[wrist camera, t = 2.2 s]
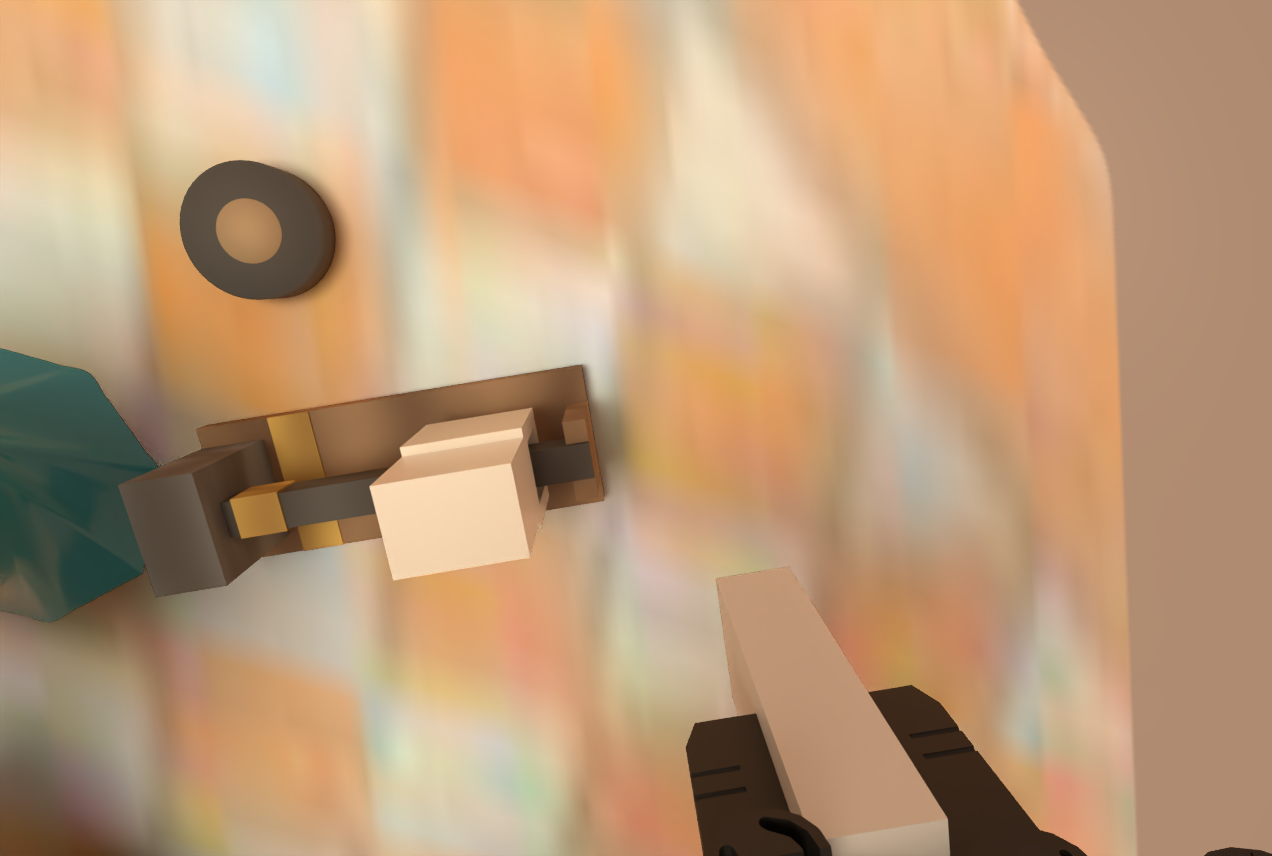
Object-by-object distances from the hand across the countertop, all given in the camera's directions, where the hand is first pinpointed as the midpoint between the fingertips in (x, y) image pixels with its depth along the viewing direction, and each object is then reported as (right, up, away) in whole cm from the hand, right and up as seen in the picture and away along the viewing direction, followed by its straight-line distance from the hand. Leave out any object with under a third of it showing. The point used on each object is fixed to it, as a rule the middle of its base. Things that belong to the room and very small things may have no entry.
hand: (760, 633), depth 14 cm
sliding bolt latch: (-14, +2, +21) cm, 26 cm away
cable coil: (-20, +13, +18) cm, 30 cm away
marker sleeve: (-10, +3, +19) cm, 21 cm away
